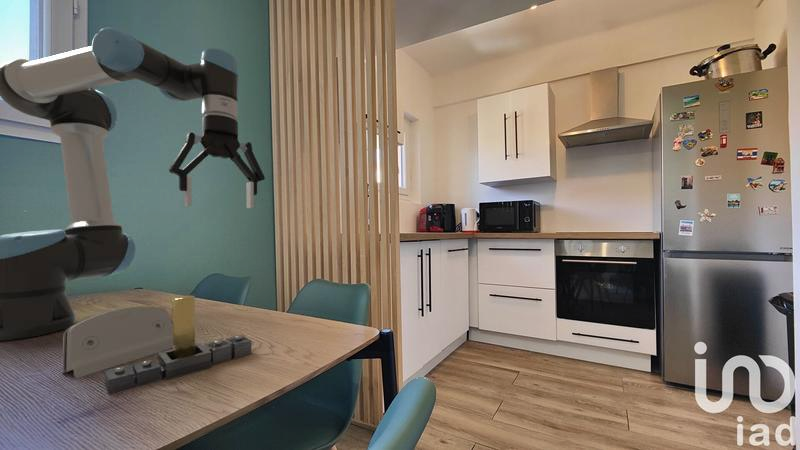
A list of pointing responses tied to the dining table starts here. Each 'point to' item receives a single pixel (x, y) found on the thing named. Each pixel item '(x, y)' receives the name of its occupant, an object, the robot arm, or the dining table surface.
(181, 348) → the link pin
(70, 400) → the dining table surface
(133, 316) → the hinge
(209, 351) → the chain end
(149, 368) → the chain end
